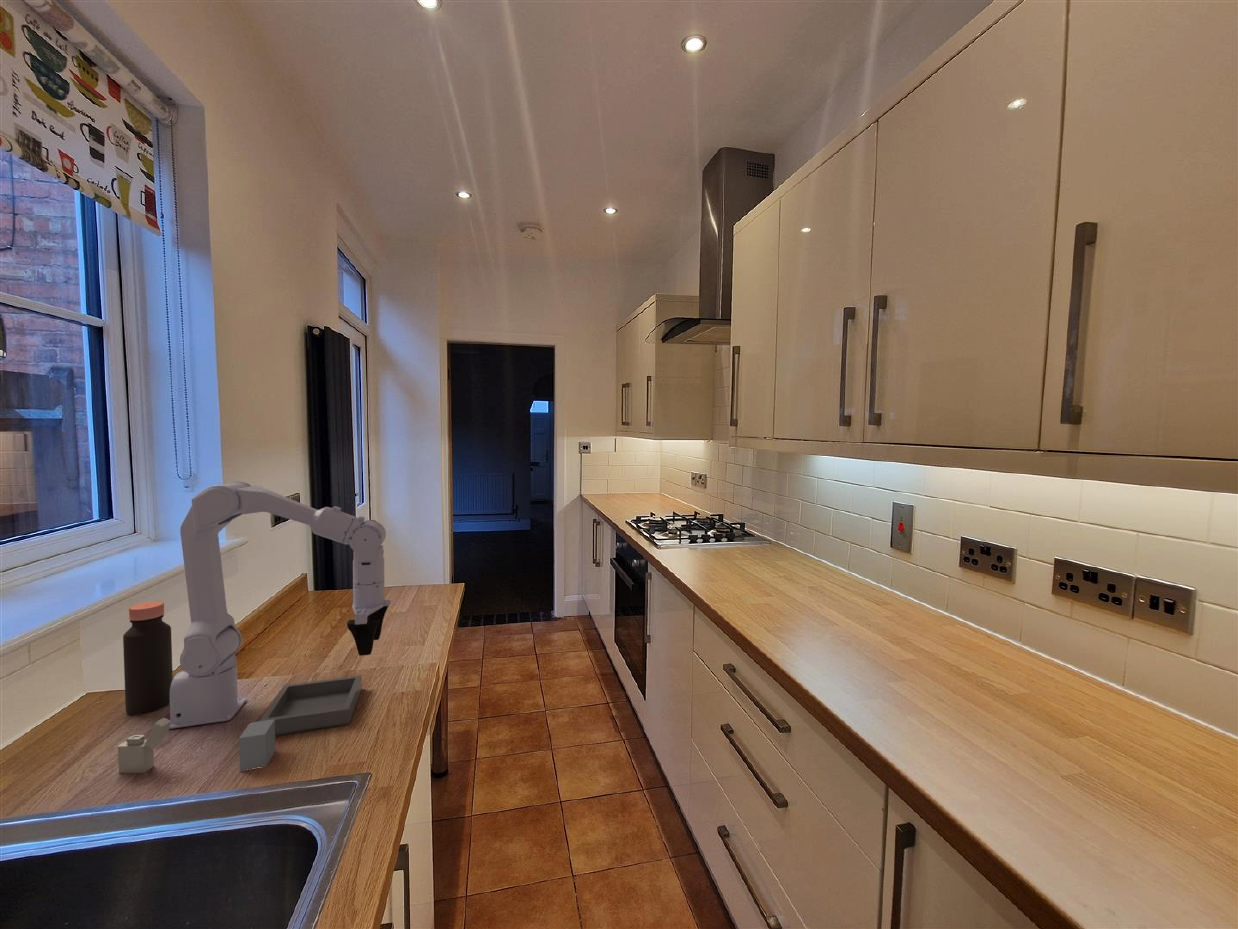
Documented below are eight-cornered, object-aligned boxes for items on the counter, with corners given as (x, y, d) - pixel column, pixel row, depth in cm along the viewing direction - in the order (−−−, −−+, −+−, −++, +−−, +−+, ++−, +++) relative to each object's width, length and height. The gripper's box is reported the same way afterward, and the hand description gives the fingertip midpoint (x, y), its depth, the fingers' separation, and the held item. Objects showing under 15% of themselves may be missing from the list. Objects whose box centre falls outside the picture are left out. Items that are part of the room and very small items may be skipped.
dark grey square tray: (259, 738, 87) (258, 722, 87) (284, 699, 101) (284, 685, 100) (349, 725, 92) (348, 709, 92) (361, 689, 105) (361, 675, 105)
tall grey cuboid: (239, 772, 79) (239, 738, 78) (250, 755, 83) (249, 722, 83) (266, 767, 80) (265, 734, 80) (275, 751, 84) (274, 719, 84)
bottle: (155, 695, 102) (152, 598, 101) (182, 699, 100) (179, 601, 99) (116, 713, 95) (112, 609, 94) (144, 717, 94) (140, 612, 93)
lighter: (117, 773, 78) (115, 723, 78) (128, 766, 80) (126, 717, 80) (164, 772, 78) (162, 723, 78) (173, 765, 80) (172, 716, 80)
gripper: (383, 590, 96) (383, 659, 96) (396, 571, 110) (396, 632, 110) (342, 592, 94) (343, 663, 94) (361, 573, 108) (361, 634, 108)
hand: (369, 646), depth 102 cm, fingers open, 7 cm apart
